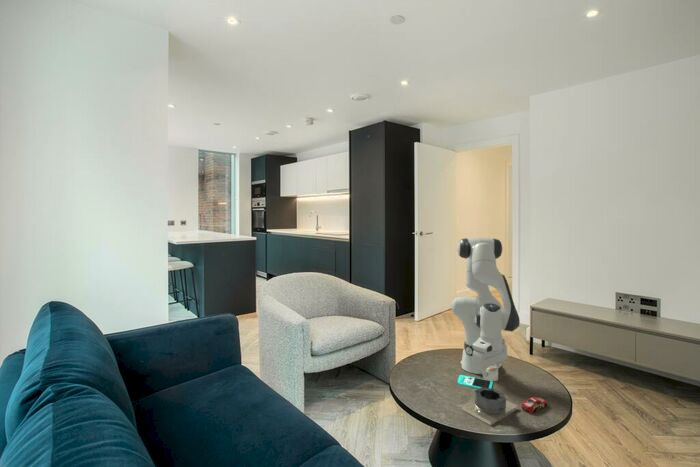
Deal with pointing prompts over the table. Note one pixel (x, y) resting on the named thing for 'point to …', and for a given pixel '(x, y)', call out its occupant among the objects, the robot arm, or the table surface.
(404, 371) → the table surface
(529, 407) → the race car
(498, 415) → the grey socket on board
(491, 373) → the halved boiled egg
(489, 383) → the handheld game console
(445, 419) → the table surface
